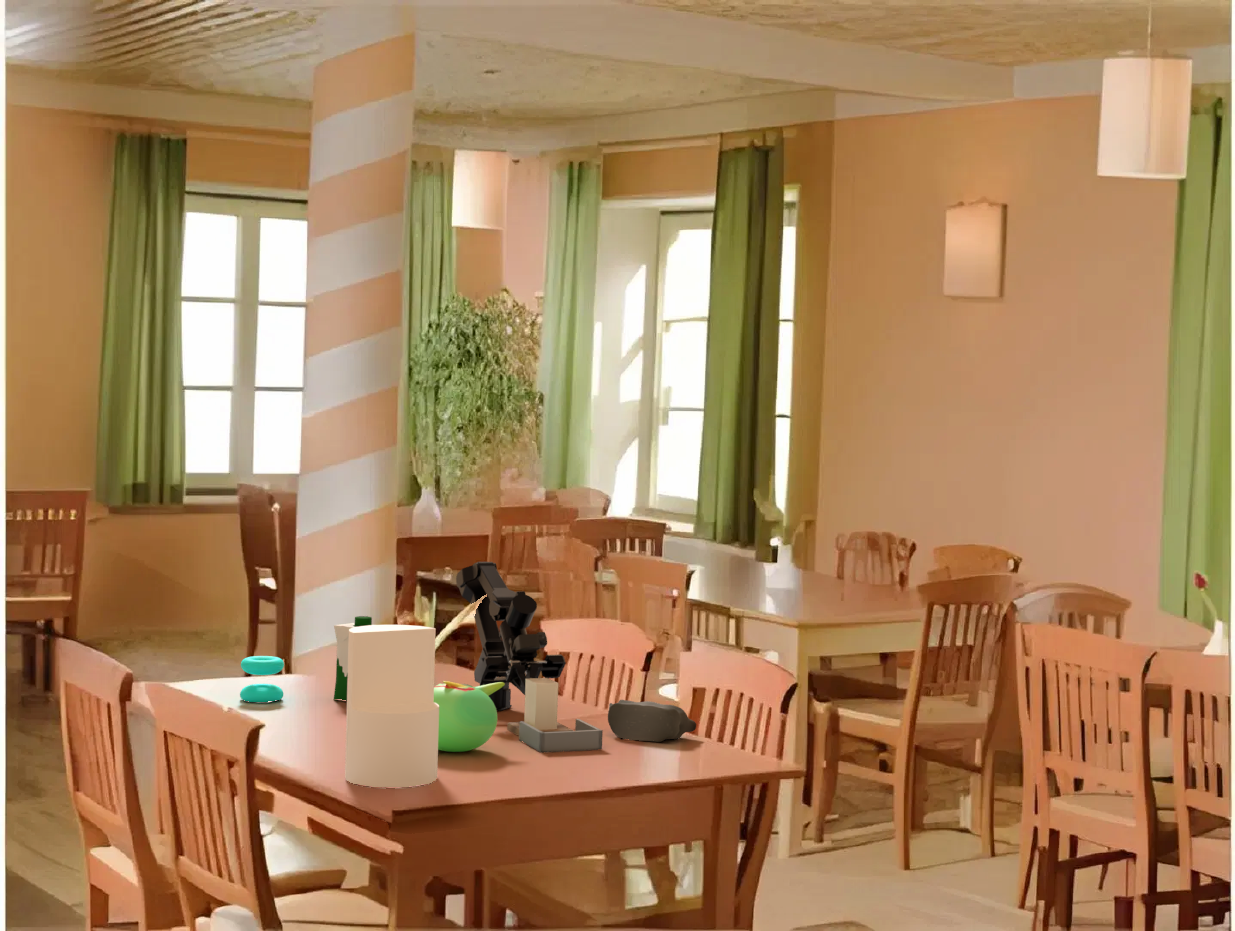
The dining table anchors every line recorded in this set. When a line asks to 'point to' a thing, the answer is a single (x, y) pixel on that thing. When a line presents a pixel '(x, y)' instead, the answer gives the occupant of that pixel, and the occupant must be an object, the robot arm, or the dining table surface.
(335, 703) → the dining table surface
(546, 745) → the tray
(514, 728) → the board
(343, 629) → the milk carton
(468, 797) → the dining table surface
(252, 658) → the donuts
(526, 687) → the cream rectangular block
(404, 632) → the cylinder
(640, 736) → the dark grey bottle
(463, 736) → the green rounded body
